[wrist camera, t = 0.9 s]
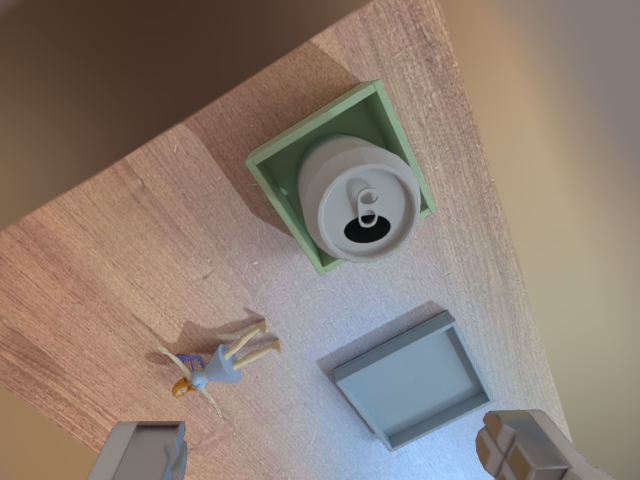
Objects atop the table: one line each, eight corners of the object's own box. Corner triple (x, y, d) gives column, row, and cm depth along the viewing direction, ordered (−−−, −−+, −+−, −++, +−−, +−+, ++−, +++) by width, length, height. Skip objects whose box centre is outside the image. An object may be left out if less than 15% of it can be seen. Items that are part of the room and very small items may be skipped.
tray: (447, 309, 38) (455, 320, 36) (486, 389, 44) (495, 401, 42) (332, 369, 39) (335, 382, 38) (385, 438, 45) (390, 452, 44)
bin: (362, 82, 28) (380, 78, 23) (413, 193, 32) (437, 210, 27) (249, 152, 29) (244, 162, 24) (314, 250, 33) (320, 276, 28)
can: (300, 218, 31) (311, 281, 20) (290, 136, 28) (298, 158, 17) (377, 209, 32) (429, 266, 21) (376, 127, 29) (436, 143, 18)
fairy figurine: (302, 386, 35) (202, 442, 35) (295, 357, 40) (206, 406, 39) (246, 308, 31) (131, 371, 30) (245, 284, 35) (145, 339, 35)
